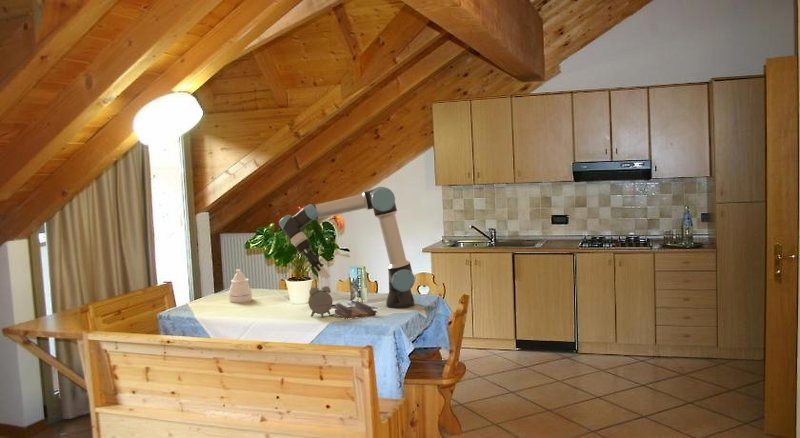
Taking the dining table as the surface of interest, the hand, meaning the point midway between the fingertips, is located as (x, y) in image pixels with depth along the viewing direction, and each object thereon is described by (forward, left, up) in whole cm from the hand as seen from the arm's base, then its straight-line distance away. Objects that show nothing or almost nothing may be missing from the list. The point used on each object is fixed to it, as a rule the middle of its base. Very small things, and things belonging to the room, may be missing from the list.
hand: (326, 277), depth 341 cm
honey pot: (+28, -75, -21) cm, 82 cm away
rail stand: (-14, -2, -21) cm, 25 cm away
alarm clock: (+2, -6, -21) cm, 22 cm away
